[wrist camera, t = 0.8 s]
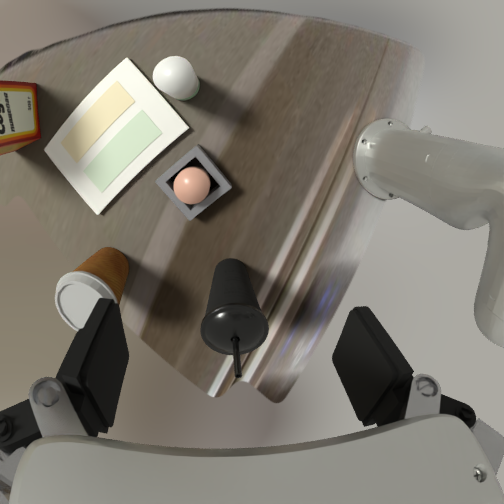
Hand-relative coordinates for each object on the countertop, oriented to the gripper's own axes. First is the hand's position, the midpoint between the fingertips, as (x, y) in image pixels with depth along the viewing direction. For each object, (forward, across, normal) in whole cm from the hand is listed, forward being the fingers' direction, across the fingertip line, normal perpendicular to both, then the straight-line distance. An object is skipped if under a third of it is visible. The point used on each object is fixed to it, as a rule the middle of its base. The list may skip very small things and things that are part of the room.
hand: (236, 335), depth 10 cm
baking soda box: (+30, +33, -11) cm, 46 cm away
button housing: (+29, +4, 0) cm, 29 cm away
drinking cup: (+29, -2, +13) cm, 32 cm away
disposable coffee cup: (+30, +17, +14) cm, 37 cm away
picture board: (+29, +16, -6) cm, 34 cm away
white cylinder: (+29, +6, -13) cm, 32 cm away
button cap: (+27, +4, 0) cm, 28 cm away
